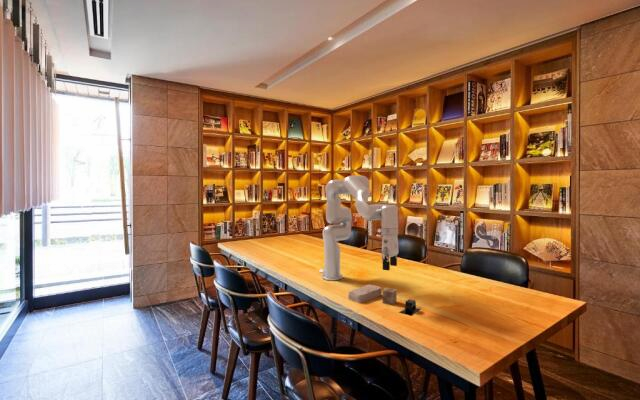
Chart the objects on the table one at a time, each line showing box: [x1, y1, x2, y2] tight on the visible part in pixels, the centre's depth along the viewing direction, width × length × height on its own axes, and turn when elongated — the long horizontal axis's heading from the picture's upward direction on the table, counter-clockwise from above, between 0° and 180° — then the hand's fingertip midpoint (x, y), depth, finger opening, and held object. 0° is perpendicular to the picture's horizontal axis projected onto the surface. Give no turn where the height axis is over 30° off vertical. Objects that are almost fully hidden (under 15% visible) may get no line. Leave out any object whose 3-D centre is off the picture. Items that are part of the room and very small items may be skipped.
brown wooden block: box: [382, 287, 397, 306], centre depth 155 cm, size 5×5×6 cm
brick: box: [347, 283, 383, 304], centre depth 163 cm, size 16×8×5 cm, turn 129°
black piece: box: [398, 298, 422, 317], centre depth 145 cm, size 13×8×5 cm, turn 139°
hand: (389, 267), depth 154 cm, fingers open, 9 cm apart
